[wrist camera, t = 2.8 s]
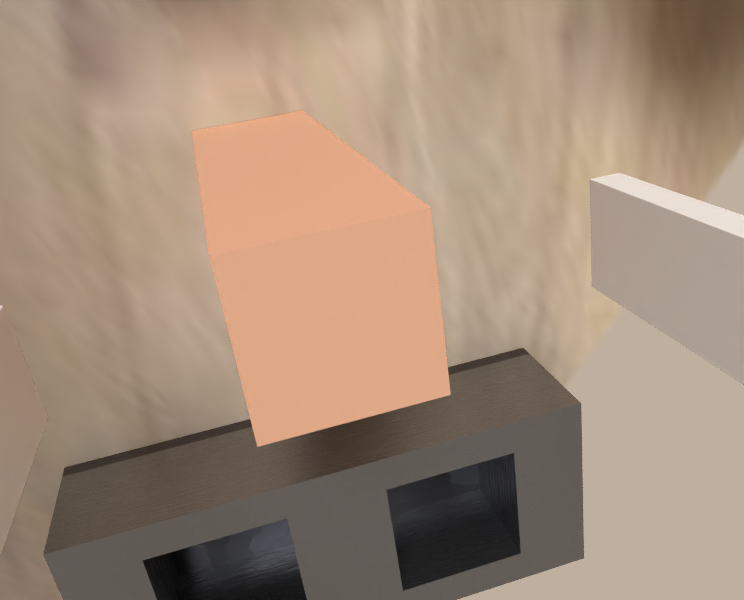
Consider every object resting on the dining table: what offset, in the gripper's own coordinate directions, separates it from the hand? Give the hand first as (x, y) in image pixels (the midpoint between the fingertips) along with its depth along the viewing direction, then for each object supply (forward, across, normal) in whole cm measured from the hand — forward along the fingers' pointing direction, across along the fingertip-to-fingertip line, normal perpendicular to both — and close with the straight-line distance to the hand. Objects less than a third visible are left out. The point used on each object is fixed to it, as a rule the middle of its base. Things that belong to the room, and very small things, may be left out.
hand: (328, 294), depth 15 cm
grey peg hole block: (+12, 0, -14) cm, 18 cm away
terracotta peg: (+11, 0, 0) cm, 11 cm away
